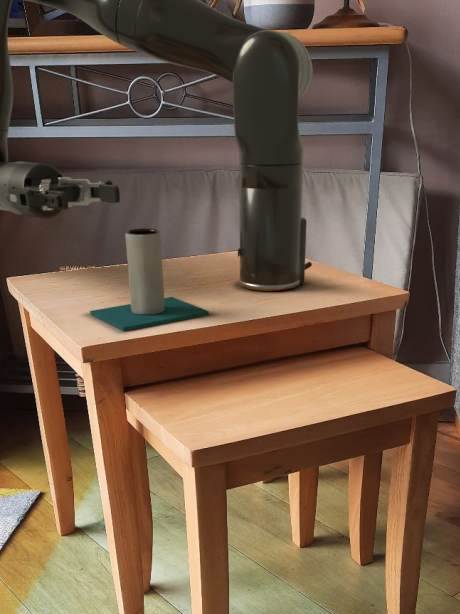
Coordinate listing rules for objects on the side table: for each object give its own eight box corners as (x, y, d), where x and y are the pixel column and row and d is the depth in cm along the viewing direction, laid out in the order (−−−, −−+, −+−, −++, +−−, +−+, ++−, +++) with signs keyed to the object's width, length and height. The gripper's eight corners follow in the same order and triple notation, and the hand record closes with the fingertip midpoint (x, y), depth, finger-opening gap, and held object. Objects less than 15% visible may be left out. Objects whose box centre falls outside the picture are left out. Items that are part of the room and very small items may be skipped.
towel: (172, 300, 108) (171, 296, 108) (209, 314, 101) (209, 311, 101) (90, 314, 102) (89, 310, 102) (123, 331, 95) (123, 327, 95)
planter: (144, 305, 104) (139, 227, 99) (171, 309, 102) (167, 229, 97) (124, 312, 101) (118, 232, 96) (151, 316, 99) (146, 235, 94)
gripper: (-19, 166, 106) (43, 172, 96) (66, 158, 114) (131, 163, 104) (-9, 222, 109) (51, 233, 99) (72, 210, 118) (135, 220, 108)
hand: (92, 197), depth 102 cm, fingers open, 8 cm apart
